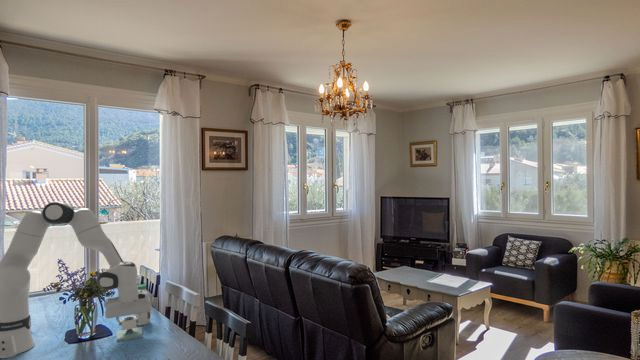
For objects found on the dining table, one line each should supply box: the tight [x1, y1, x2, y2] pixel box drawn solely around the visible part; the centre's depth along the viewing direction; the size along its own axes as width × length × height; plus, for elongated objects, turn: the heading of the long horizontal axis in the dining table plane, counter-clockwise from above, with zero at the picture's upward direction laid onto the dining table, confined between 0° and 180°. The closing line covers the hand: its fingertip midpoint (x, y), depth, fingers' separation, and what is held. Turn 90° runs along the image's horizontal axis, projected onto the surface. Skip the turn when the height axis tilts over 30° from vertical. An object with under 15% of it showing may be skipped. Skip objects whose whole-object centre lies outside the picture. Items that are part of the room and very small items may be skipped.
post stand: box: [116, 316, 143, 342], centre depth 194 cm, size 11×11×9 cm
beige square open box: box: [121, 315, 137, 330], centre depth 194 cm, size 6×6×4 cm
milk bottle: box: [133, 284, 151, 327], centre depth 209 cm, size 8×8×20 cm
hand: (129, 323), depth 194 cm, fingers closed on beige square open box, 6 cm apart
